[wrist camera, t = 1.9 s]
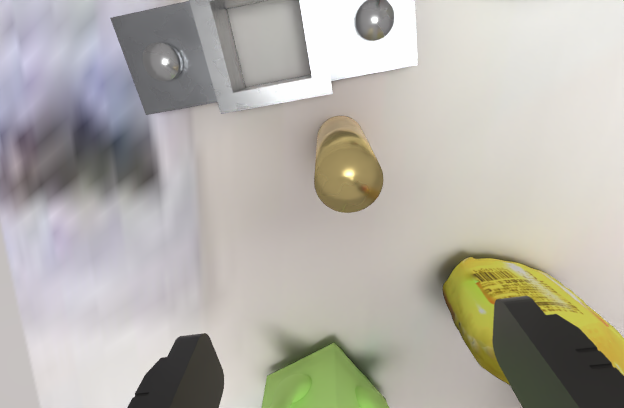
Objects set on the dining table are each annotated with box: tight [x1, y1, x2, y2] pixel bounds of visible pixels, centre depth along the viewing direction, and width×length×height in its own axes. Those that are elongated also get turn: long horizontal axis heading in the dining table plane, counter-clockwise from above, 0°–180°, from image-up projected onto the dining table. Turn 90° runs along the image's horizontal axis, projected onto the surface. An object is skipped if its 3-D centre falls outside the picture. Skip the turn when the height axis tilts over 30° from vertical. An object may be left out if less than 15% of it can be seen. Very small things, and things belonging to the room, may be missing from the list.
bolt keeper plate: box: [111, 0, 418, 115], centre depth 23 cm, size 20×8×4 cm, turn 100°
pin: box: [314, 116, 383, 213], centre depth 23 cm, size 4×4×10 cm
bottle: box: [443, 257, 624, 385], centre depth 24 cm, size 12×6×20 cm, turn 81°
